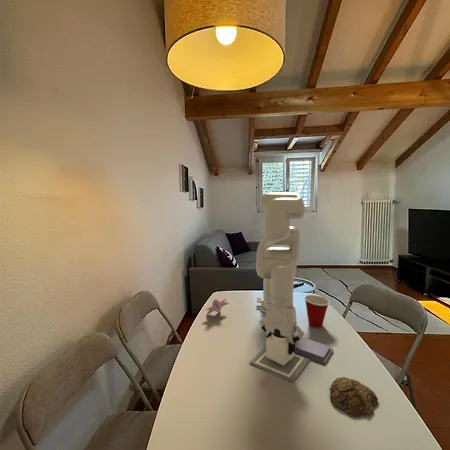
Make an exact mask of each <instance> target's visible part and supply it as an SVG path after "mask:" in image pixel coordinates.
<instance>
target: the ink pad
mask: <svg viewBox="0 0 450 450" xmlns="http://www.w3.org/2000/svg"><path fill="white" fill-rule="evenodd" d="M333 352H334V348H332V347H331V346H330V345H326V344H323V343H322V342H318V341H315V340H313V339H308V338H305V337H302V338H301V339H300V340H299V341H298V343H297V344H295V352H294V354H297V355H299V356H303V357H306V358H308V359H310V360H311V361H314V362H316V361H317V363H319V364H323V365H326V363H327V362H328V360H329V359H330V357H331V355H332V354H333Z"/></svg>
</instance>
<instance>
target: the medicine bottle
mask: <svg viewBox="0 0 450 450" xmlns="http://www.w3.org/2000/svg"><path fill="white" fill-rule="evenodd" d="M265 342H266V346H265V347H266V357H267V358H269V359H271V360H273V361H275V362H277V363H279V364H281V365H285V364H286V363H287V362H288V361H289V360H291V359H292V358H293V357H294V352H293V353H292V354H291V355H289V343H290V340H289V338H288V337H285V336H282V335H280V330H278V329H274V333H272V335H271V336H269V337H268V338H267V339H266V338H265Z"/></svg>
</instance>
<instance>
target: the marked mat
mask: <svg viewBox="0 0 450 450" xmlns="http://www.w3.org/2000/svg"><path fill="white" fill-rule="evenodd" d="M310 360H311V359H308V358H305V357H302V356H300V355H297V354H294V357H293V358H292V359H291V360H289V361H288V362H287V363H286V364H285V365H281V364H279V363H277V362H275V361H273V360H271V359H269V358H267V357H266V346H265V347H264V348H263V349H262V350H261V351H260V352H259V353H258V354H257V355H256V356H254V358H253V359H252V360H250V361H249V364H250V365H251V366H254V367H257V368H259V369H261V370H264V371H265V372H267V373H270V374H272V375H275V376H277V377H280V378H282V379H284V380H287V381H289V382H292V383H295V382H296V380H297V379H298V378H299V376H300V375H301V373H302V372H303V371H304V369H305V368H306V367H307V366H308V364H309V362H310Z"/></svg>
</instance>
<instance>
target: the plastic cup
mask: <svg viewBox="0 0 450 450" xmlns="http://www.w3.org/2000/svg"><path fill="white" fill-rule="evenodd" d="M304 300H305V307H306V313H307V321H308V324H309V326H311V327H313V328H318V329H319V328H321V327H323V324H324V320H325V318H326V315H327V314H326V312H327V309H328V306H329V305H330V303H331V302H330V300H329V299H327V297H324V296H320V295H316V294H308V295H305V296H304Z"/></svg>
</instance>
